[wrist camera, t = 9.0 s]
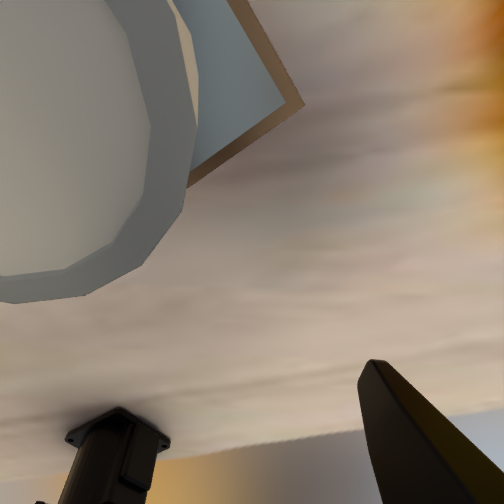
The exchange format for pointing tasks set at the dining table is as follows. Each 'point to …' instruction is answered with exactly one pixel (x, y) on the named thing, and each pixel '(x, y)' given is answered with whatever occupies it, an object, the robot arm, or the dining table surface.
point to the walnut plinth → (233, 81)
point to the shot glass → (90, 140)
